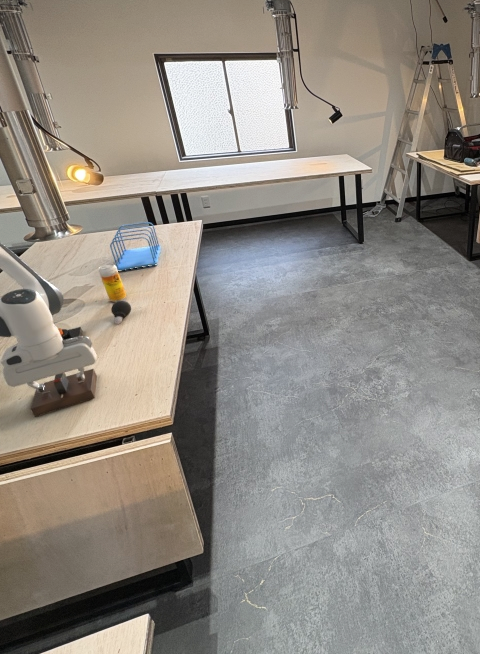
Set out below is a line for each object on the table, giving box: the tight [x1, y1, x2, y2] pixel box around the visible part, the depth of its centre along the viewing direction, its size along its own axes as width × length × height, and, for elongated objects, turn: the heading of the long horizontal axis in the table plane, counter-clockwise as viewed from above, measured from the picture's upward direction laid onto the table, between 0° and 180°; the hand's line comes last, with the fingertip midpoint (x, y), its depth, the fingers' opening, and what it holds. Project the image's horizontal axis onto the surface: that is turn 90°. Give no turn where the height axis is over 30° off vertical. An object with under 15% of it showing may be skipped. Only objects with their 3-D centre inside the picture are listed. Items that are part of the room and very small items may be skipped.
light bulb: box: [110, 300, 132, 325], centre depth 155 cm, size 6×6×10 cm
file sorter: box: [109, 221, 162, 273], centre depth 202 cm, size 25×17×15 cm
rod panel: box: [30, 368, 98, 418], centre depth 119 cm, size 14×11×3 cm
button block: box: [61, 326, 84, 340], centre depth 142 cm, size 12×10×4 cm
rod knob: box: [53, 372, 68, 394], centre depth 117 cm, size 6×2×4 cm, turn 30°
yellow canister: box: [98, 263, 127, 303], centre depth 167 cm, size 6×6×15 cm
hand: (62, 384), depth 118 cm, fingers open, 8 cm apart
